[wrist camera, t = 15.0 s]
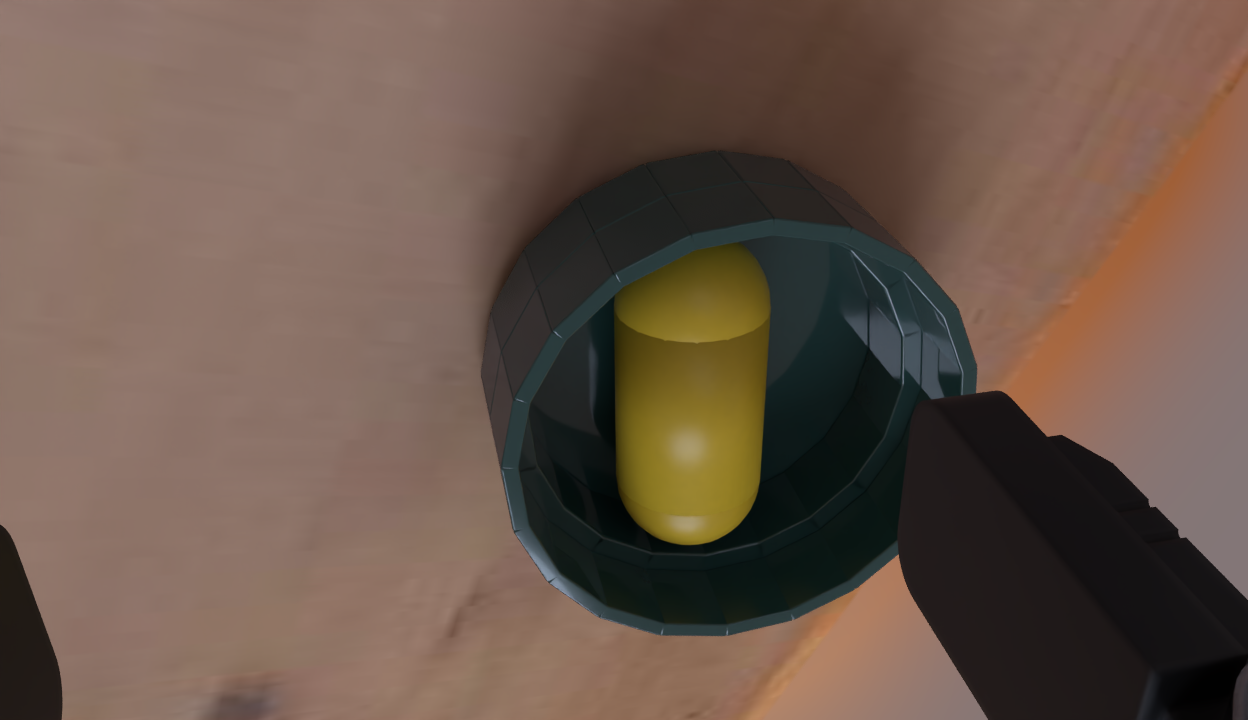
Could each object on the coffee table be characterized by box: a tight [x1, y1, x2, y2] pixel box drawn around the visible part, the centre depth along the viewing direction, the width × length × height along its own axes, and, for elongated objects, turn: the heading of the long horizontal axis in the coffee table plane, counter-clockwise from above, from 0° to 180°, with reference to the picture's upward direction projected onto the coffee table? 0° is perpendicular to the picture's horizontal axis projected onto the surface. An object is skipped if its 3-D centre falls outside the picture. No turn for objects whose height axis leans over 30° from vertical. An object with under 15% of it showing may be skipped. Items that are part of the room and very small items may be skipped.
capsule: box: [614, 242, 771, 545], centre depth 36 cm, size 11×5×5 cm
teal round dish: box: [481, 151, 977, 636], centre depth 36 cm, size 14×14×6 cm
